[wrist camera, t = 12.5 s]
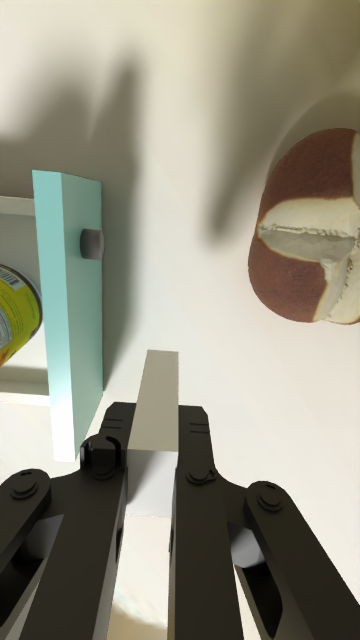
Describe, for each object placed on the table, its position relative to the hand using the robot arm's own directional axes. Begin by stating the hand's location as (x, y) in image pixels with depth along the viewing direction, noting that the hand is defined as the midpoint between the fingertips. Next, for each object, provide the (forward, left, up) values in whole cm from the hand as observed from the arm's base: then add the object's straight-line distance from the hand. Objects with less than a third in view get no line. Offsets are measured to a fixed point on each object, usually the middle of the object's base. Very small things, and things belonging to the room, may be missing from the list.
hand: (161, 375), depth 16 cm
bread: (-7, +10, -8) cm, 15 cm away
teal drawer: (-1, -11, -8) cm, 14 cm away
